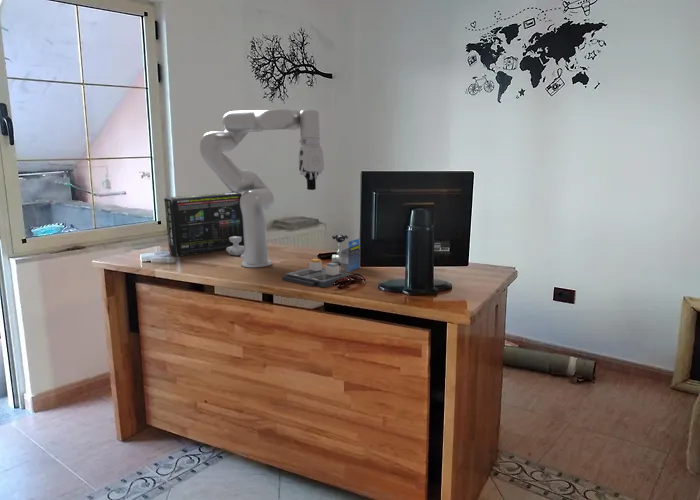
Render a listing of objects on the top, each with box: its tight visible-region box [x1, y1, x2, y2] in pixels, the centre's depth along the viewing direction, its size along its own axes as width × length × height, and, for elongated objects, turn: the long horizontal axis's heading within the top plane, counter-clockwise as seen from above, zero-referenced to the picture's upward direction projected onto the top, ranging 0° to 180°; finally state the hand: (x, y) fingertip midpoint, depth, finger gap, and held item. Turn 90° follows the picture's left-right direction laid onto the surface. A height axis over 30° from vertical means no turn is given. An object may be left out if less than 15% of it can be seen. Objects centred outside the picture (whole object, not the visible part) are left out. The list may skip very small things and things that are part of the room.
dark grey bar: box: [281, 275, 315, 288], centre depth 205 cm, size 16×1×1 cm, turn 49°
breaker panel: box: [284, 267, 350, 288], centre depth 210 cm, size 20×14×2 cm
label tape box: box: [340, 238, 360, 273], centre depth 224 cm, size 9×4×12 cm, turn 149°
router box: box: [163, 191, 244, 257], centre depth 266 cm, size 36×11×27 cm, turn 127°
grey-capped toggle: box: [325, 261, 340, 276], centre depth 208 cm, size 4×3×4 cm
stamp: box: [225, 236, 244, 257], centre depth 257 cm, size 9×7×8 cm
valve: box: [331, 234, 349, 265], centre depth 234 cm, size 7×7×12 cm
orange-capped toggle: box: [308, 258, 323, 271], centre depth 215 cm, size 4×3×4 cm
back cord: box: [322, 267, 355, 276], centre depth 217 cm, size 18×1×1 cm, turn 49°
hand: (311, 189), depth 222 cm, fingers closed
